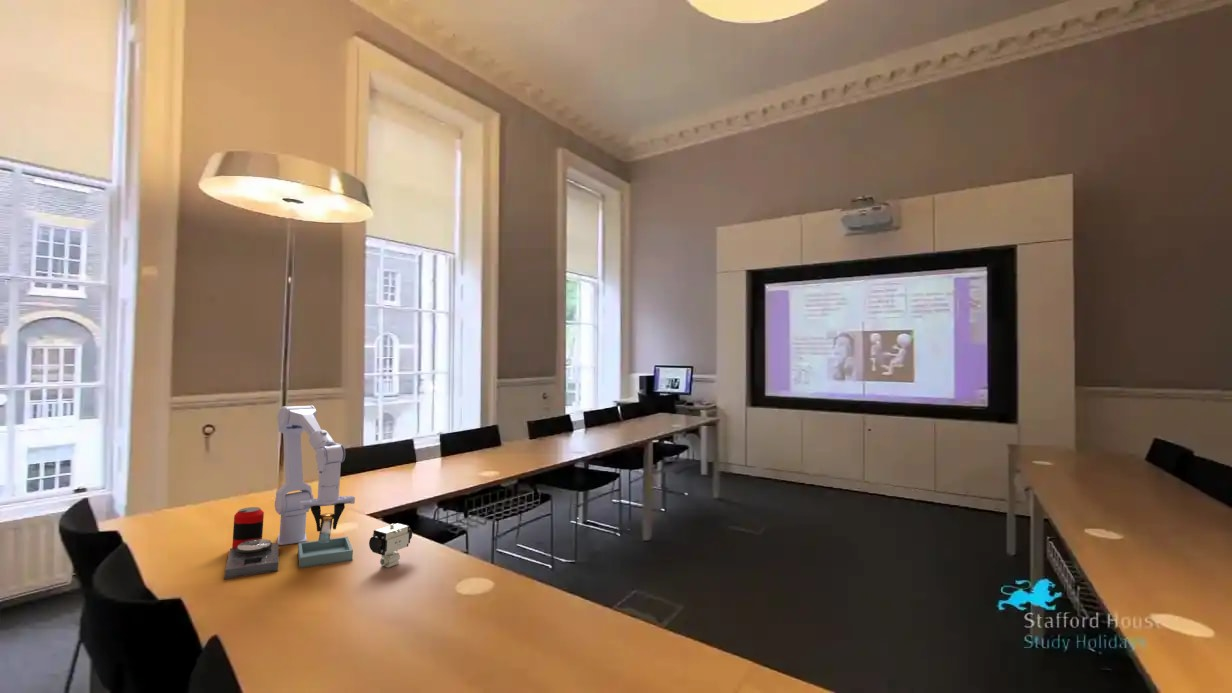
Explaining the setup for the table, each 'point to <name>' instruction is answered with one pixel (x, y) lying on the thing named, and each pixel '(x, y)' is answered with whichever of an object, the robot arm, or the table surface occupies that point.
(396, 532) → the pneumatic valve
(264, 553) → the bracket
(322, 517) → the lock pin
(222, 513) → the table surface
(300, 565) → the tray
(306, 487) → the robot arm
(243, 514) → the soda can
